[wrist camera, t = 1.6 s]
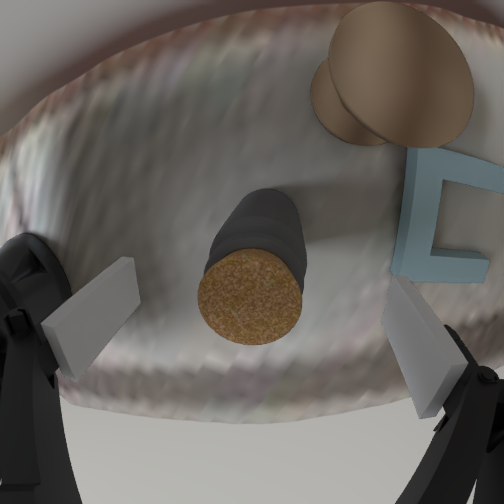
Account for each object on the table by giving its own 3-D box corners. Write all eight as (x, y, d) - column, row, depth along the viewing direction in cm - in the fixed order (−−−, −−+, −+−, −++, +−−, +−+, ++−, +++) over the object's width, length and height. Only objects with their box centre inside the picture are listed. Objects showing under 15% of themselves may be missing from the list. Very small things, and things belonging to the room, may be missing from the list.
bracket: (390, 270, 27) (397, 281, 25) (407, 142, 22) (418, 143, 20) (473, 274, 26) (483, 283, 24) (493, 165, 21) (506, 168, 19)
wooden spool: (309, 140, 23) (331, 134, 13) (310, 48, 20) (328, -12, 10) (402, 152, 23) (473, 162, 12) (402, 64, 19) (466, 28, 9)
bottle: (309, 231, 26) (335, 326, 12) (256, 259, 28) (230, 368, 14) (278, 176, 25) (273, 216, 11) (223, 208, 26) (160, 279, 12)
